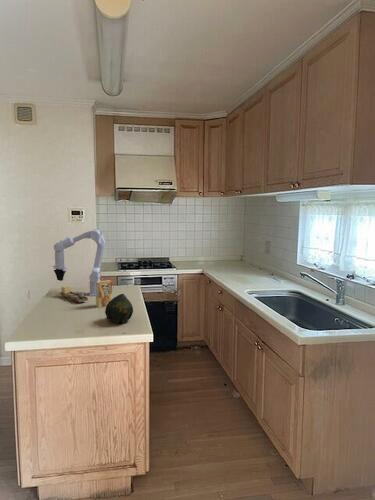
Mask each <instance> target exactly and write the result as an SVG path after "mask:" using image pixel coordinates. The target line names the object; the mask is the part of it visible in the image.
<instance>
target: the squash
mask: <svg viewBox="0 0 375 500" xmlns="http://www.w3.org/2000/svg"><path fill="white" fill-rule="evenodd" d="M133 307H134V306H133V305H132V303H131V301H130V300H129V299H128V298H127V296H126V295H125V294H124V293H121V294H118V295H116V296H114V297H112V300H111V301H110V302H109V303H108V304H107V306H106V307H105V309H104V313H105V317H106V318H107V319H108V320H109V321H113V323H115V324H119V323H121V324H122V323H125V322H126V321H129V320H131V319H132V316H133V314H134V308H133Z"/></svg>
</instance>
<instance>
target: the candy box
mask: <svg viewBox="0 0 375 500" xmlns="http://www.w3.org/2000/svg"><path fill="white" fill-rule="evenodd" d="M112 299H113V281H112V280H110V279H109V280H108V279H106V280H101V281H99V282H96V296H95V303H96V304H95V306H96V307H97V308H99V309H100V308H106V306H107V304H108V303H109V302H110V301H111V300H112Z"/></svg>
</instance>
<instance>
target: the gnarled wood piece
mask: <svg viewBox="0 0 375 500" xmlns="http://www.w3.org/2000/svg"><path fill="white" fill-rule="evenodd" d="M59 293H60V296H61V297H62V296H63V297H65V298H67V301H68V302H72V301H75V302H78V303H81V302H86V301H88V300H89V299H88V296H85V293H83V292H79V293H76V292H74V291H71V290H70V293H66V294H65V293H63V292H62V291H60V292H59Z"/></svg>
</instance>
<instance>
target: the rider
mask: <svg viewBox="0 0 375 500" xmlns="http://www.w3.org/2000/svg"><path fill="white" fill-rule="evenodd" d="M70 291H71V286H69V285H64V286H61V292H63V293H65V294H66V293H70Z"/></svg>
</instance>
